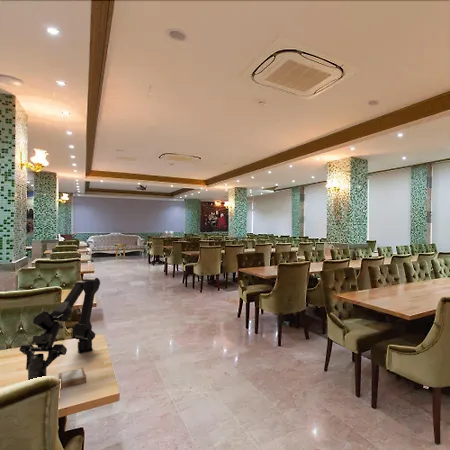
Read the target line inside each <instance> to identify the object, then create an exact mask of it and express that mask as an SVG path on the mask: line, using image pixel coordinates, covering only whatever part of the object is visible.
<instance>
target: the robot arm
mask: <svg viewBox="0 0 450 450" xmlns="http://www.w3.org/2000/svg"><path fill="white" fill-rule="evenodd" d="M100 285H101V280H100V279H99V278H98V277H86V278H85V279H80V280H78V281H76V282H75V283H74V286H73V287H72V288H71V290H70V292H68V294H67V296H66V298H65V299H64V301H63V302H62V303H60V304H59V305H57V306H56V307H55V308H54V309H53V310H52V311H51V312H50V313H49V312H48V311H46V310H43V311H42V312H41V313H39V314H37V315H36V316H35V317H34V318H33V321H32V323H33V324H34V325H35V326H36V327H37V328H39V329H41V330H43V331H44V332H43V333H40V335H32V340H31V344H29V343H24V344H22V345H20V346H19V347H20V348H19V352H21V353H22V354H24V355H26V366H25V370H27V371H28V365H29V363H31V361H30V360H31V356H33V355H35V353H36V352H39V353H40V352H41V353H43V352H48V353H47V357H46V359H45V364H44V366H43V370H45V369H46V370H47V368H48V367H49V366H50V365H51V364H52V363H53V362H54V361H55V360H56V359H57V358H59V357H61V356H65V355H66V354H67V352H68V348H67V347H66V346H65V345H64V344H62V343H61V344H60V343H55V342H57V340H58V338H57V336H58V333H59V332H60V330H62V329H64V325H63V323H65V322H67V321H68V320H69V318H70V317H71V314H72V313H73V306H74V305H75V303H76V302H77V300H78V298H79V297H80V295H82V293H83V292H84V297H83V302H82V308H81V313H80V319H79V321H78V322H77V323H75V324H74V329H73V335H74V337H75V340H78V341H77V351H78V352H79V354H82V353H87V352H92V351H93V350H94V349H93V340H94V339H95V338H96V333H95V332H94V331H93V330H92V329H93V328H92V327H93V326H92V323H91V318H92V316H91V315H92V310H93V305H94V304H93V303H94V298H95V294H96V293H97V292H98V290H99V288H100ZM62 322H63V323H62ZM33 344H35V346H34V345H33Z"/></svg>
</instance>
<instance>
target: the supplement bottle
mask: <svg viewBox="0 0 450 450" xmlns="http://www.w3.org/2000/svg"><path fill="white" fill-rule="evenodd" d="M34 354H35V353H34ZM30 361H31V363H29V365H28V370H27V381H28V380H30V379H33V378H37V377H42V376H47V373H48V372H47V368H46V369H45V370H43V366H44V364H45V361H46V359H45V355H44V353H36V354H35V355H33V356H31V360H30Z"/></svg>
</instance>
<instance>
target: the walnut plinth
mask: <svg viewBox="0 0 450 450" xmlns="http://www.w3.org/2000/svg"><path fill="white" fill-rule="evenodd" d="M59 379H61V390H64V389H67V387H68V388H71V387H75V386H78V385H82V384H86V383H87V376H86V372H85V369H84V367H79V368H74V369H70V370H66V371H62V372H59V373H58V380H59ZM63 388H64V389H63Z"/></svg>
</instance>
